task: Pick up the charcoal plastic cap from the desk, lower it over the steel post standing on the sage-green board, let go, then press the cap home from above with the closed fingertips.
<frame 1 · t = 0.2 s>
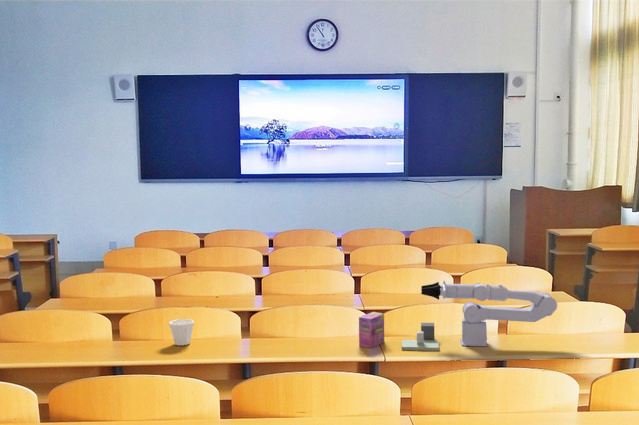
hand: (421, 290, 249), 21 cm above the table, tool horizontal, fingers open, 7 cm apart
cap: (427, 340, 253), on the table
board: (420, 346, 245), on the table
box: (372, 344, 250), on the table
post: (420, 338, 244), on the board, point 4 cm above the table
cup: (182, 344, 256), on the table
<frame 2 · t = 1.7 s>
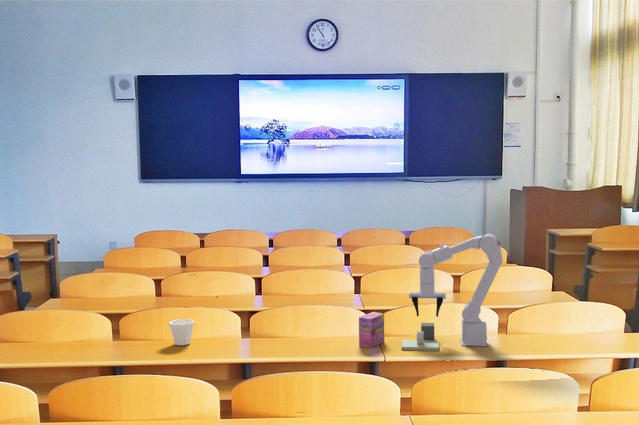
hand: (427, 315, 252), 10 cm above the table, tool pointing down, fingers open, 7 cm apart
nothing on the table moved.
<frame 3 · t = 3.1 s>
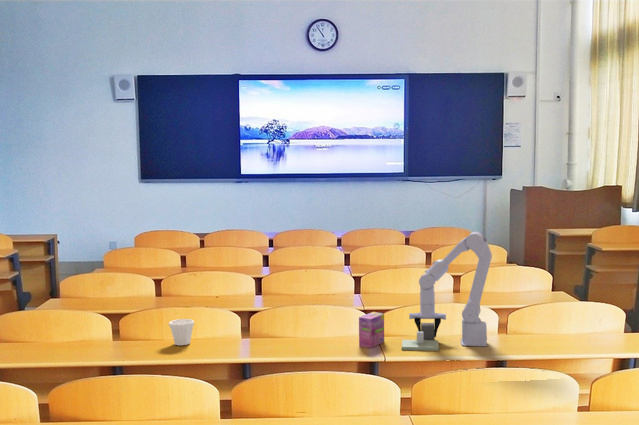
hand: (427, 336, 253), 2 cm above the table, tool pointing down, fingers closed on cap, 5 cm apart
cap: (427, 340, 253), on the table, touching gripper
everything else where it was.
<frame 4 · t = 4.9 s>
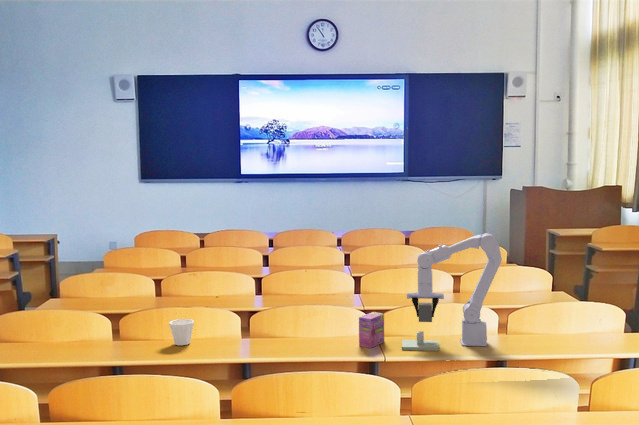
hand: (425, 316, 250), 10 cm above the table, tool pointing down, fingers closed on cap, 5 cm apart
cap: (425, 320, 250), point 9 cm above the table, touching gripper
everything else where it was.
when the fingers open (4 cm above the table, at t = 7.2 s): cap drops 1 cm, resting on board.
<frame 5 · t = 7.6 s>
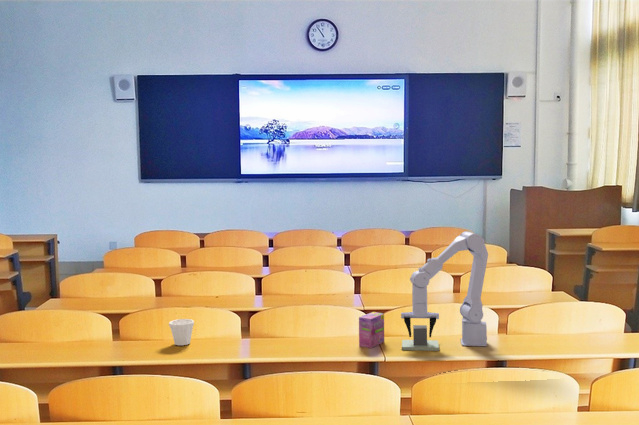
hand: (420, 336, 244), 4 cm above the table, tool pointing down, fingers open, 7 cm apart
cap: (420, 343, 245), point 1 cm above the table, touching board
everything else where it was.
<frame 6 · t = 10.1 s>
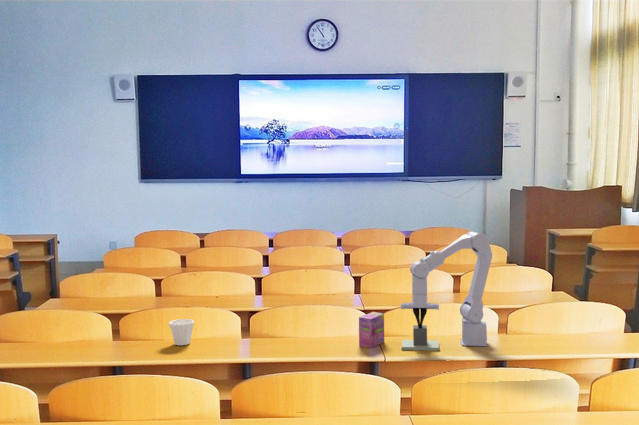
hand: (420, 327, 244), 8 cm above the table, tool pointing down, fingers closed, pressing on cap
cap: (420, 343, 245), point 1 cm above the table, touching board, gripper
everything else where it was.
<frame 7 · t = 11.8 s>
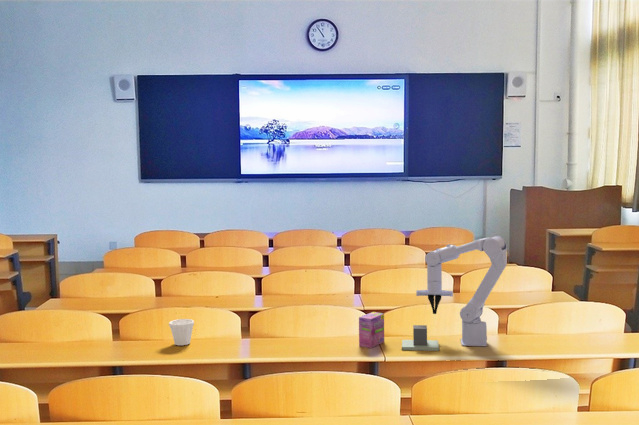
hand: (434, 313, 255), 10 cm above the table, tool pointing down, fingers closed
cap: (420, 343, 245), point 1 cm above the table, touching board
everything else where it was.
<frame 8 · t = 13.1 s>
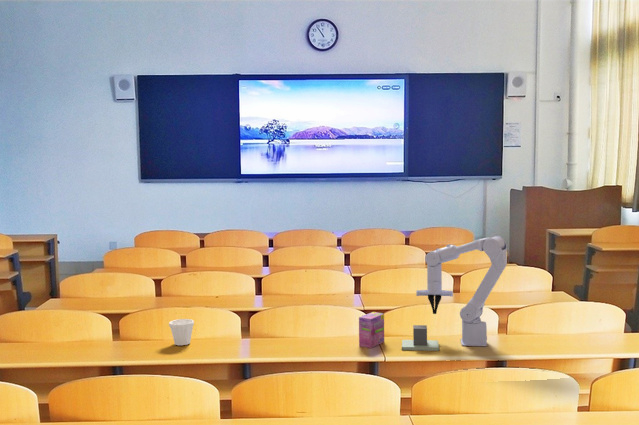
hand: (434, 313, 255), 10 cm above the table, tool pointing down, fingers closed
nothing on the table moved.
at the end: cap 0.1 cm from the post (horizontally); cap point 1.2 cm above the table; cap tilted 0° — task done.
